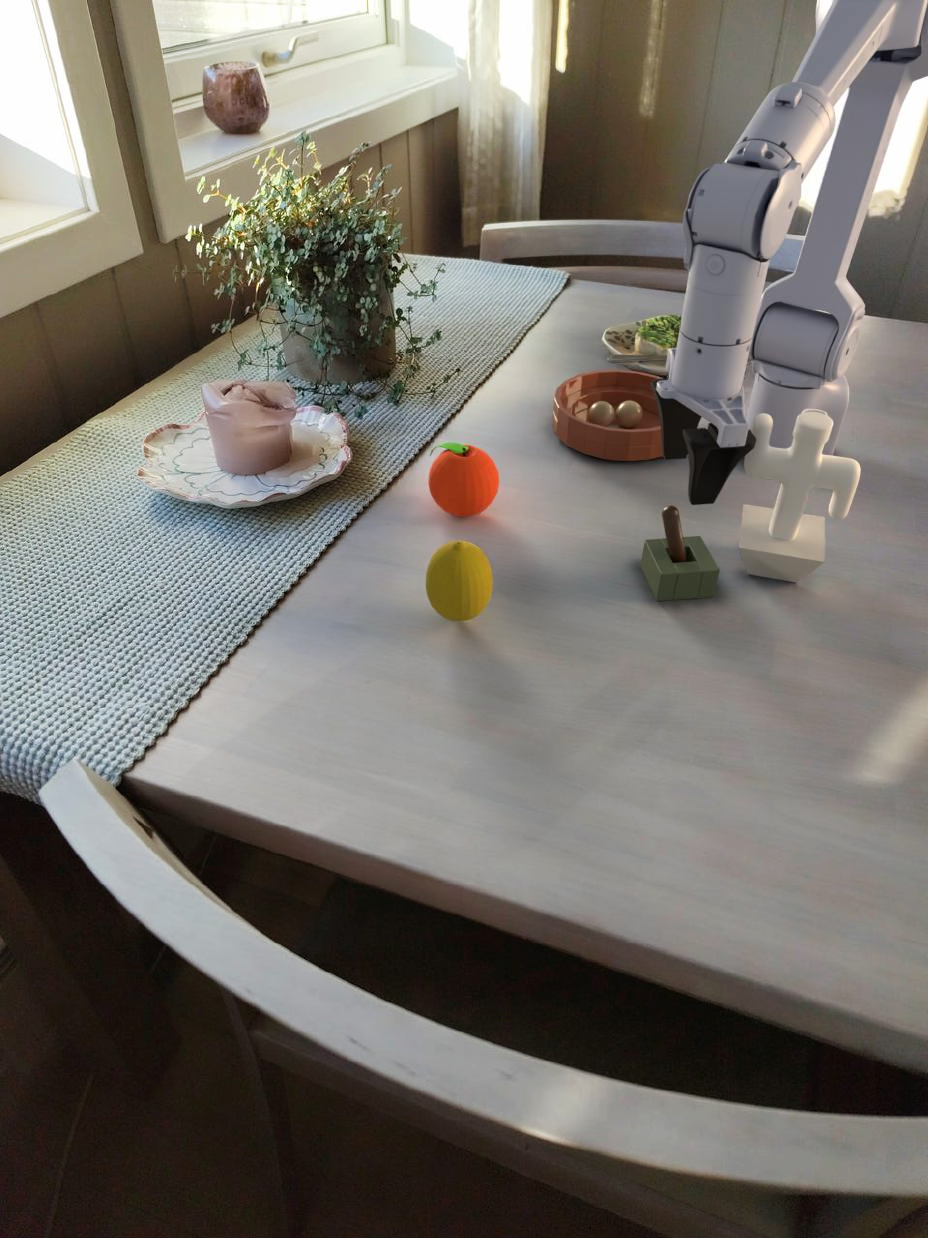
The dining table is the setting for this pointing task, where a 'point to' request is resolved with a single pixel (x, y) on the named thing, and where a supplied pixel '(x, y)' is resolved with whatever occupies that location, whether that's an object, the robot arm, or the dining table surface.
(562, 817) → the dining table surface
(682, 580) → the holder
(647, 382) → the bowl
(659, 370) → the salad plate
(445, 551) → the lemon
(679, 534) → the stick
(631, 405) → the bead
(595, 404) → the bead
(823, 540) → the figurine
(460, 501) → the clementine
